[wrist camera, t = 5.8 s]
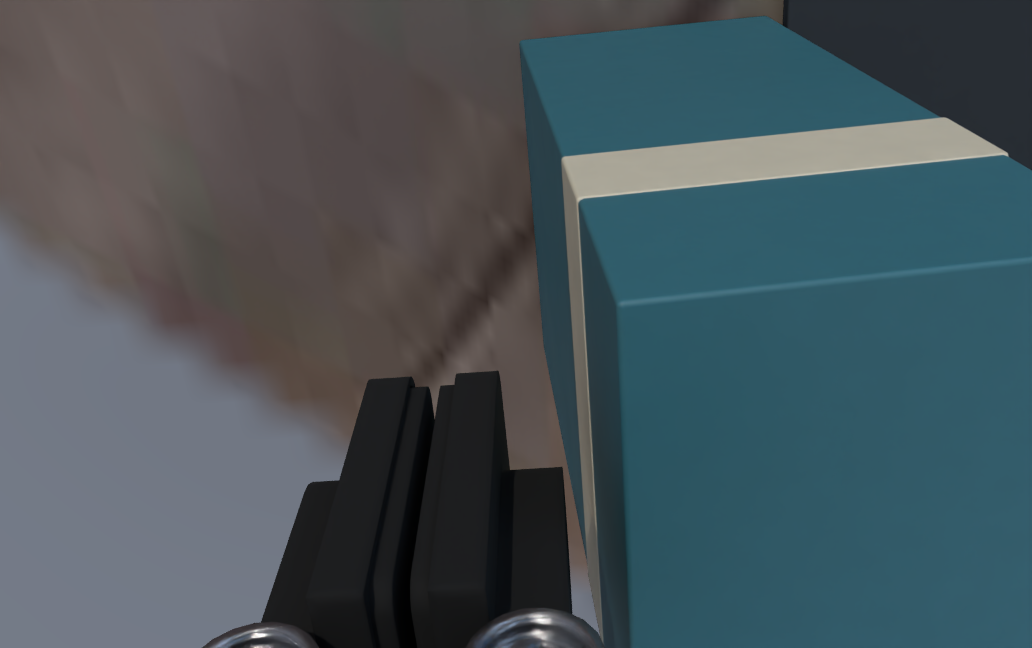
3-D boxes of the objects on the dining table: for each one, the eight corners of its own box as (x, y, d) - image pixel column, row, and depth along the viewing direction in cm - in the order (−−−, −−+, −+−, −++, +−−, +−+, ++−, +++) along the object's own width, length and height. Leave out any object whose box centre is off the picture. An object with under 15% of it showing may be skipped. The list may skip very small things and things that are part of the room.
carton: (543, 348, 23) (635, 815, 12) (518, 39, 19) (613, 301, 9) (757, 325, 23) (1039, 768, 12) (768, 14, 19) (1167, 242, 9)
